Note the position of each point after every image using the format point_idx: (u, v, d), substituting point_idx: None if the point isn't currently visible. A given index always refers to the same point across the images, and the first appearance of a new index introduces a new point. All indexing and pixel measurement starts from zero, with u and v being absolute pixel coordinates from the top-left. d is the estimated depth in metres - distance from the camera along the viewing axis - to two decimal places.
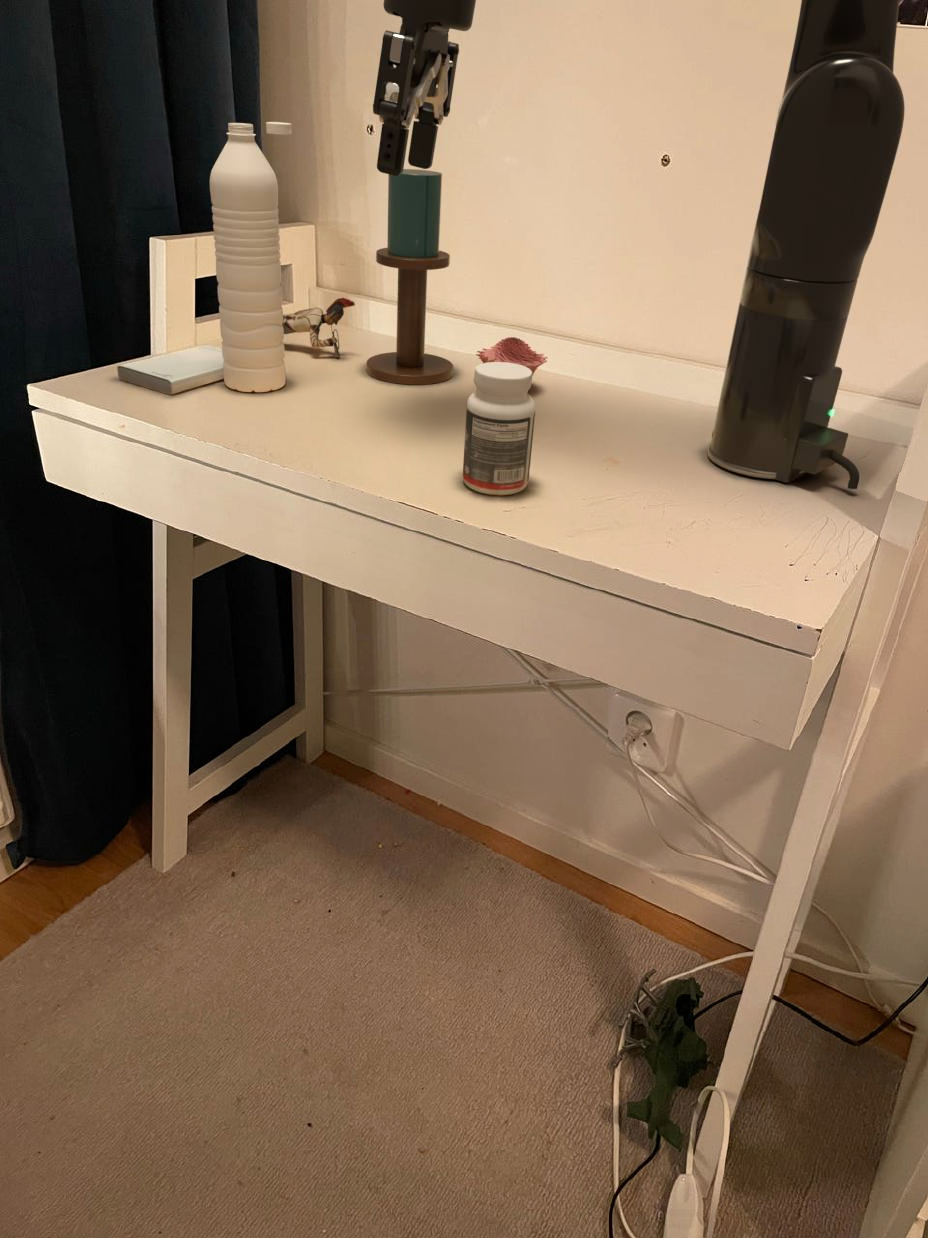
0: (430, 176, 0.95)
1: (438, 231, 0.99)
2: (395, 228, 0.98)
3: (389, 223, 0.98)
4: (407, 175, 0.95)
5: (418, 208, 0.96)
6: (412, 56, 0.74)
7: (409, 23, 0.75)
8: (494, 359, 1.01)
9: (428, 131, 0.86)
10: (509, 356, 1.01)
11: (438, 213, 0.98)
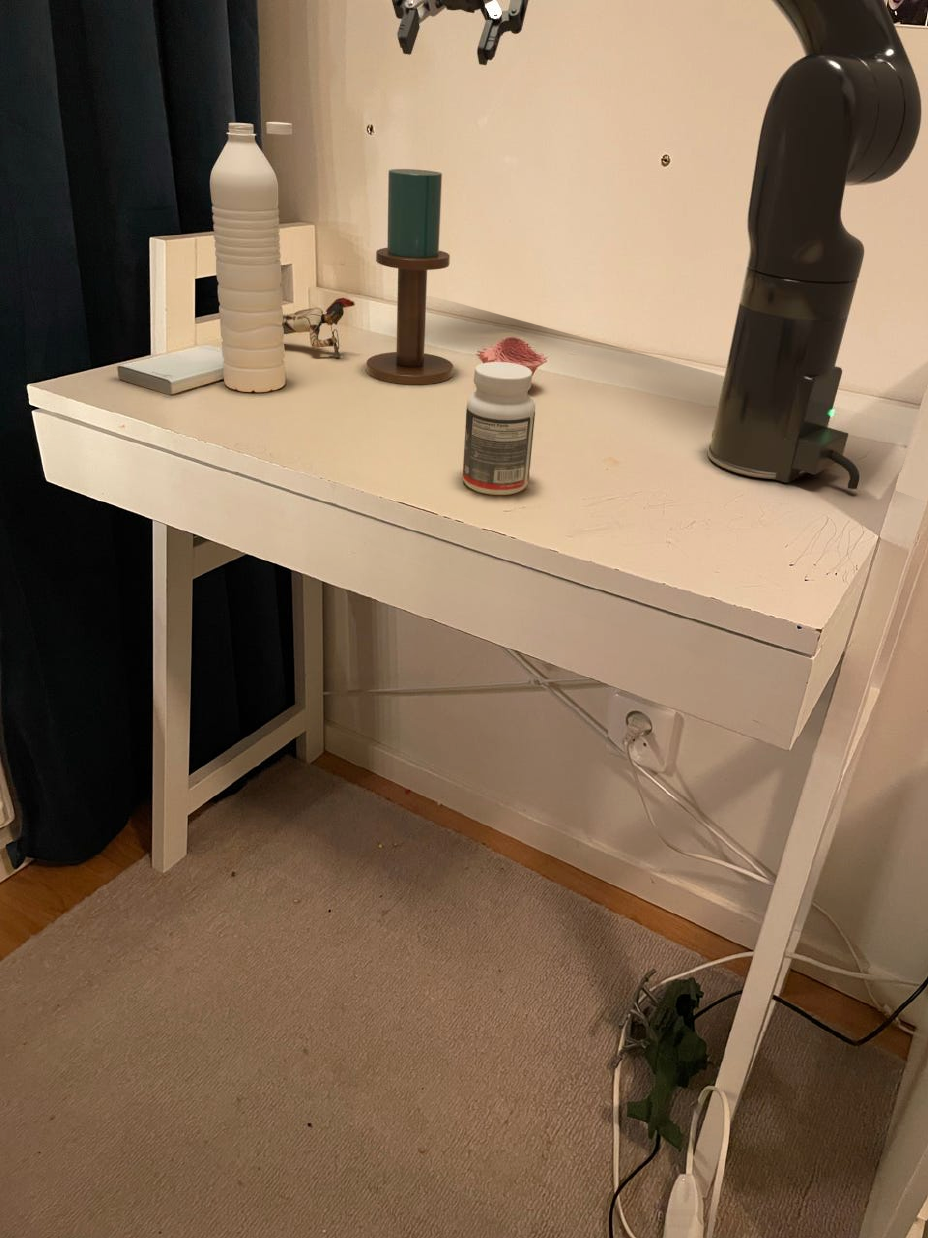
0: (430, 176, 0.95)
1: (438, 231, 0.99)
2: (395, 228, 0.98)
3: (389, 223, 0.98)
4: (407, 175, 0.95)
5: (418, 208, 0.96)
6: None
7: None
8: (494, 359, 1.01)
9: None
10: (509, 356, 1.01)
11: (438, 213, 0.98)
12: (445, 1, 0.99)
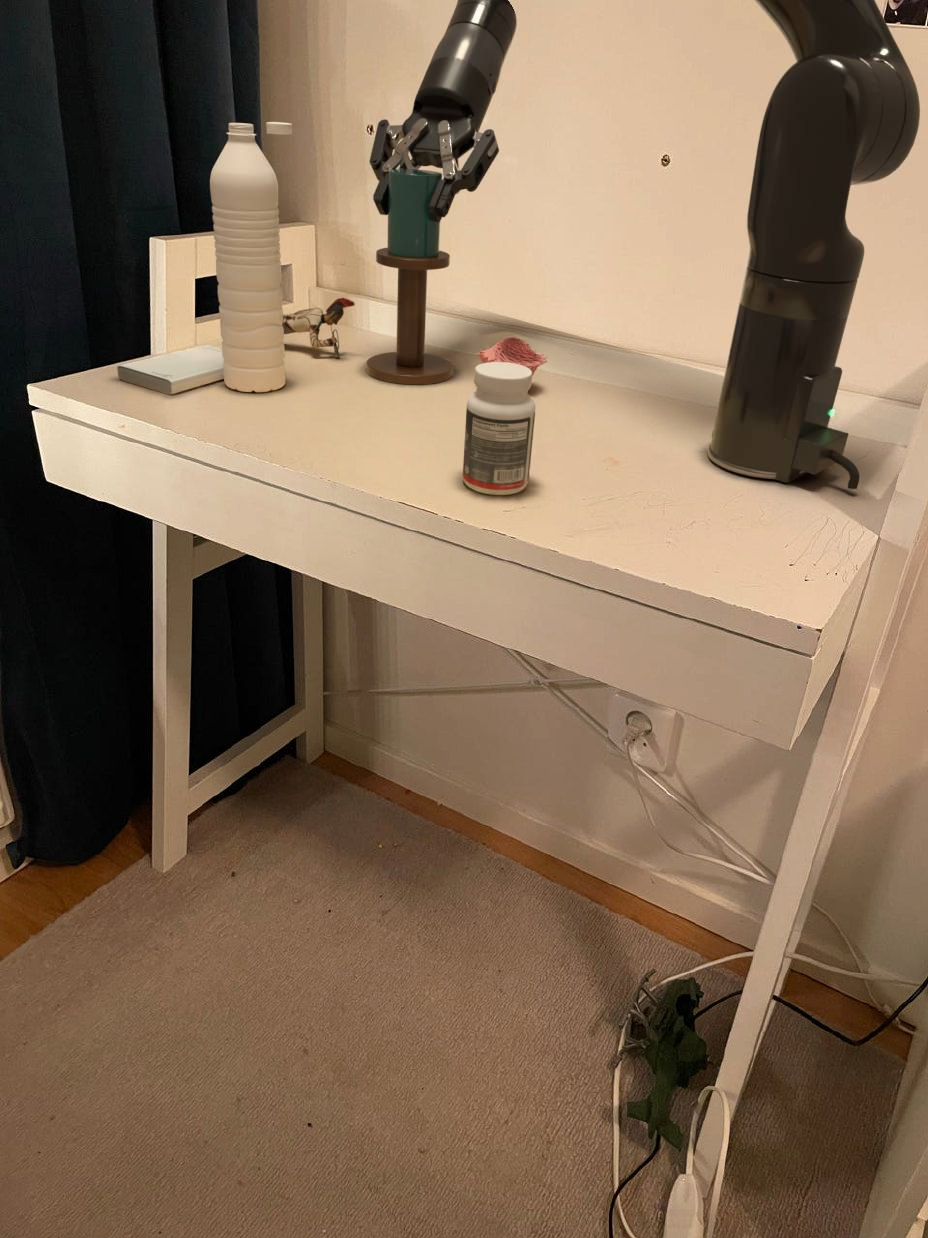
0: (430, 176, 0.95)
1: (438, 231, 0.99)
2: (395, 228, 0.98)
3: (389, 223, 0.98)
4: (407, 175, 0.95)
5: (418, 208, 0.96)
6: (382, 129, 1.00)
7: None
8: (494, 359, 1.01)
9: None
10: (509, 356, 1.01)
11: None
12: (415, 158, 0.99)
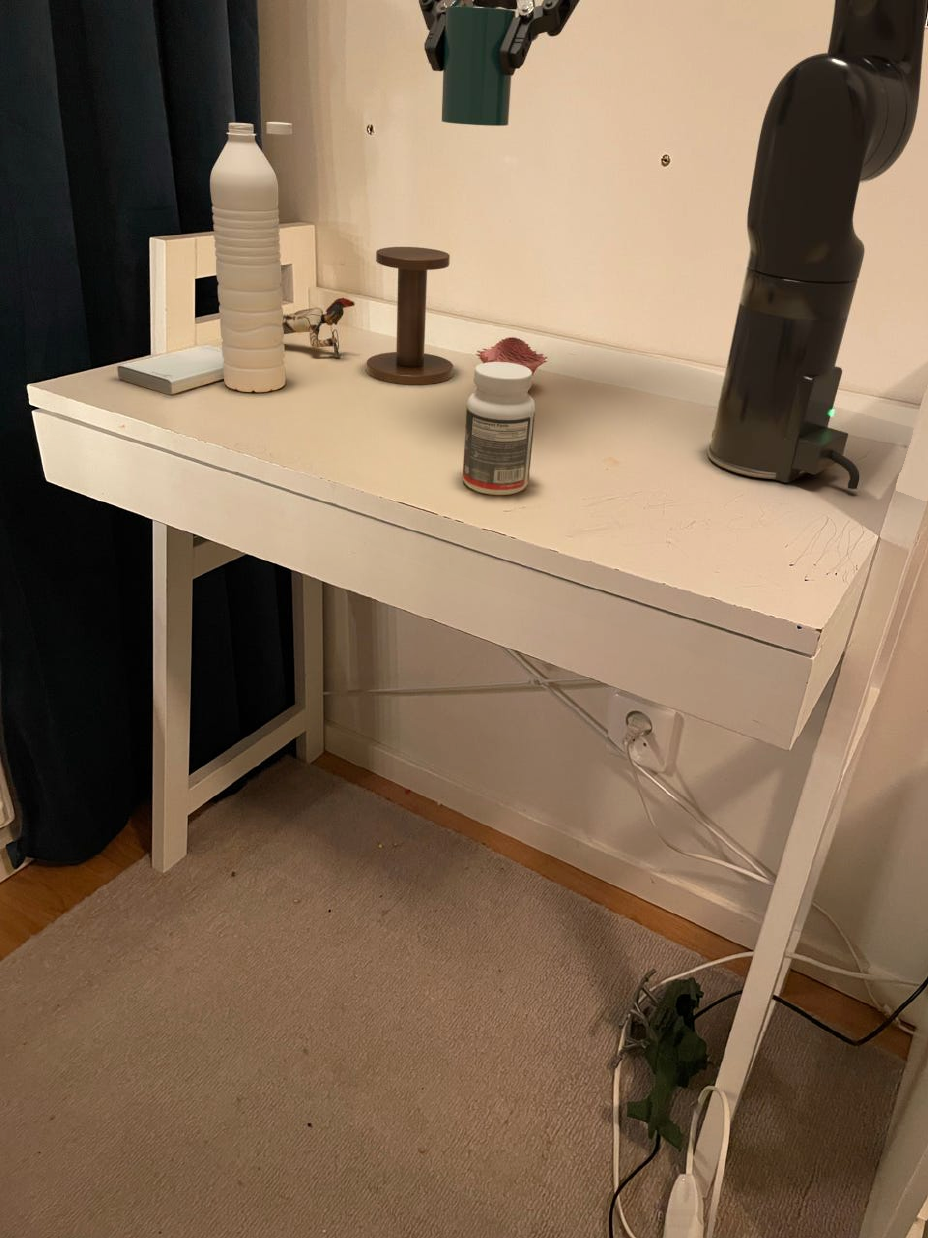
0: (502, 10, 0.72)
1: (509, 91, 0.76)
2: (454, 85, 0.74)
3: (445, 80, 0.75)
4: (472, 8, 0.71)
5: (485, 56, 0.73)
6: None
7: None
8: (494, 359, 1.01)
9: None
10: (509, 356, 1.01)
11: None
12: None
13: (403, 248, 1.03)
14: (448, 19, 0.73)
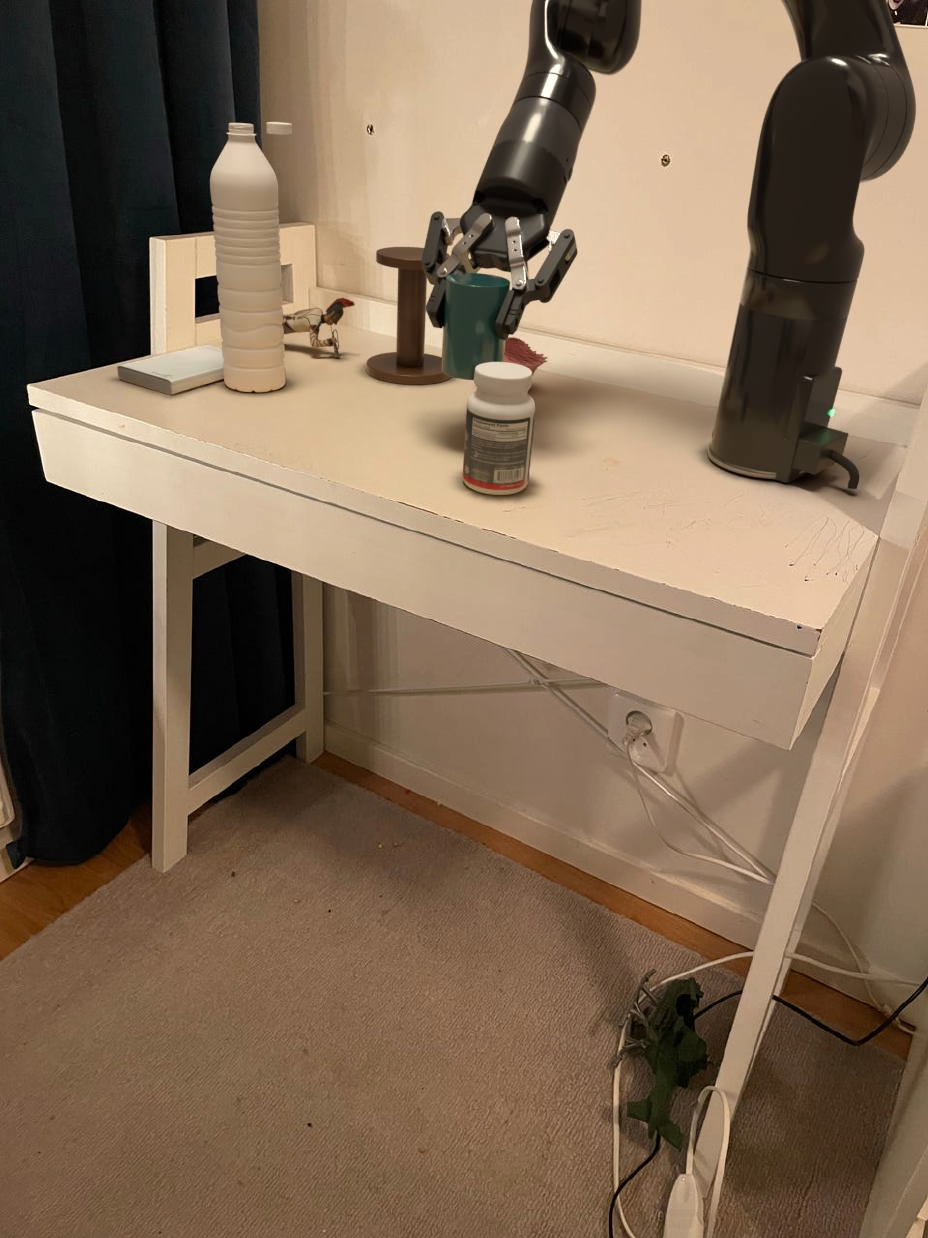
0: (497, 287, 0.79)
1: (503, 348, 0.83)
2: (453, 346, 0.81)
3: (445, 339, 0.82)
4: (470, 287, 0.78)
5: (482, 325, 0.80)
6: (436, 223, 0.83)
7: None
8: None
9: None
10: (509, 356, 1.01)
11: None
12: (476, 260, 0.83)
13: (403, 248, 1.03)
14: (448, 291, 0.80)
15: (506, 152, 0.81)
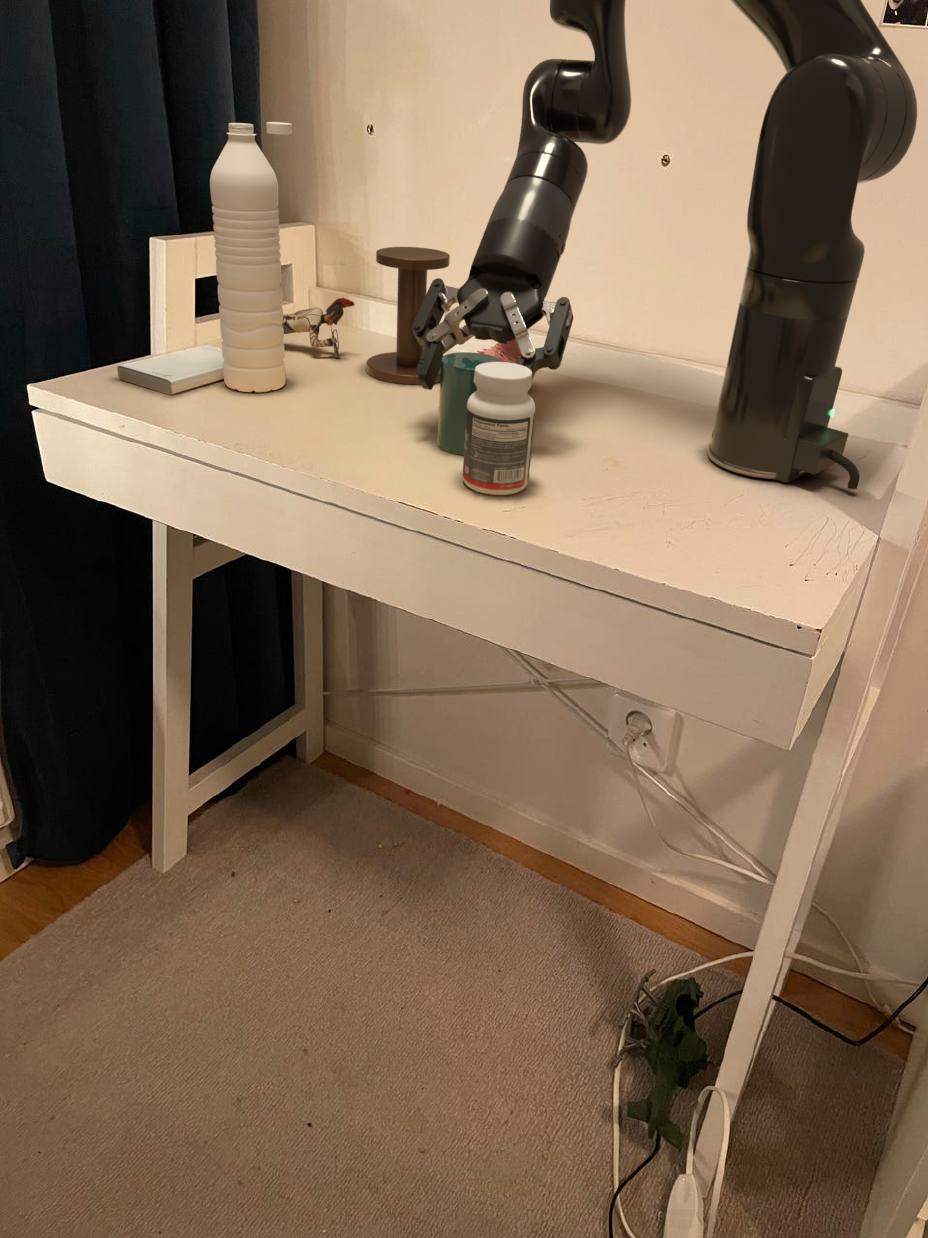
0: None
1: None
2: (448, 423, 0.85)
3: (441, 416, 0.85)
4: (464, 369, 0.82)
5: None
6: (434, 290, 0.87)
7: None
8: None
9: None
10: (509, 356, 1.01)
11: None
12: (473, 332, 0.86)
13: (403, 248, 1.03)
14: (443, 372, 0.83)
15: (501, 230, 0.84)
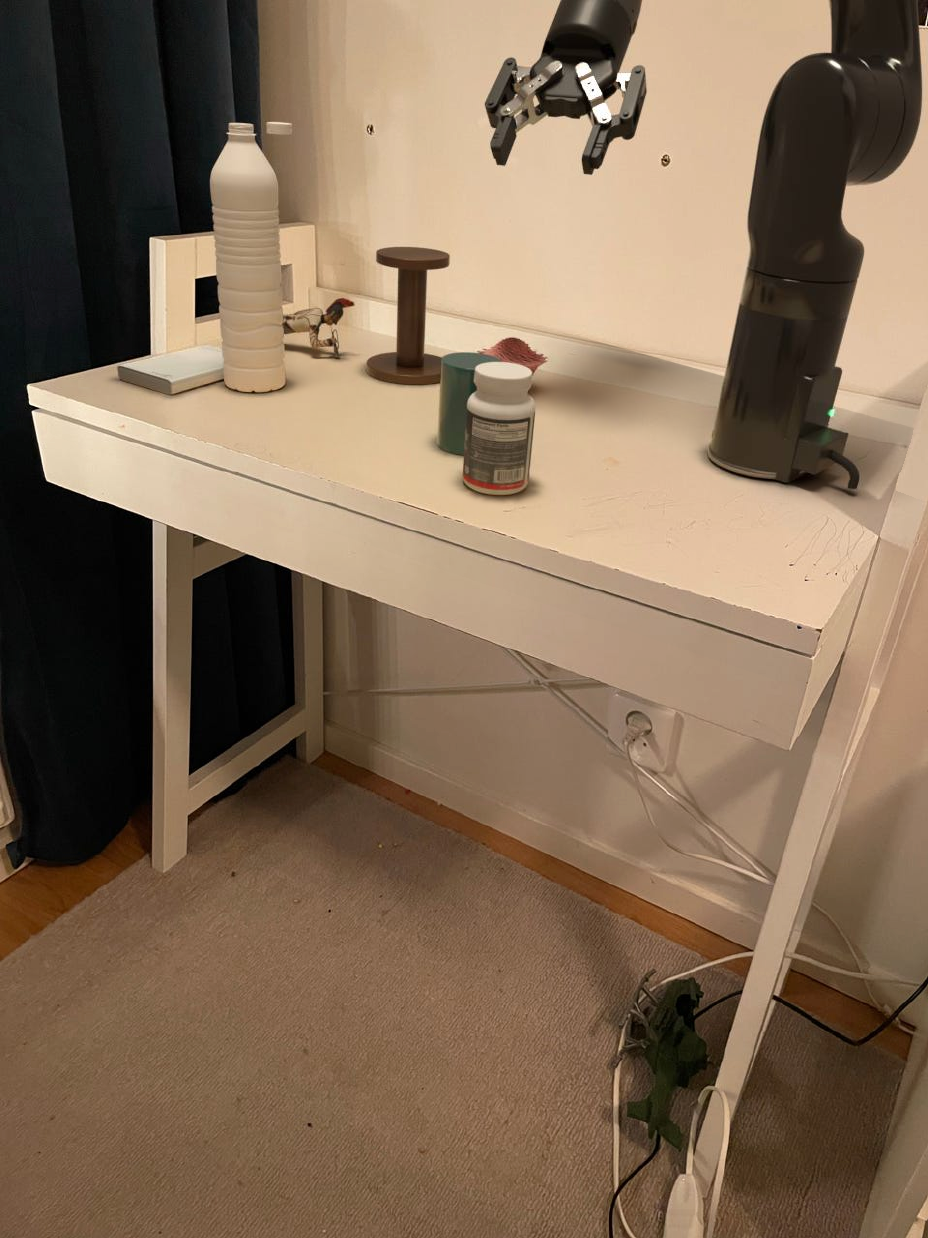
0: None
1: None
2: (448, 423, 0.85)
3: (441, 416, 0.85)
4: (464, 369, 0.82)
5: None
6: (507, 68, 0.87)
7: None
8: None
9: None
10: (509, 356, 1.01)
11: None
12: (546, 107, 0.86)
13: (403, 248, 1.03)
14: (443, 372, 0.83)
15: (576, 1, 0.85)
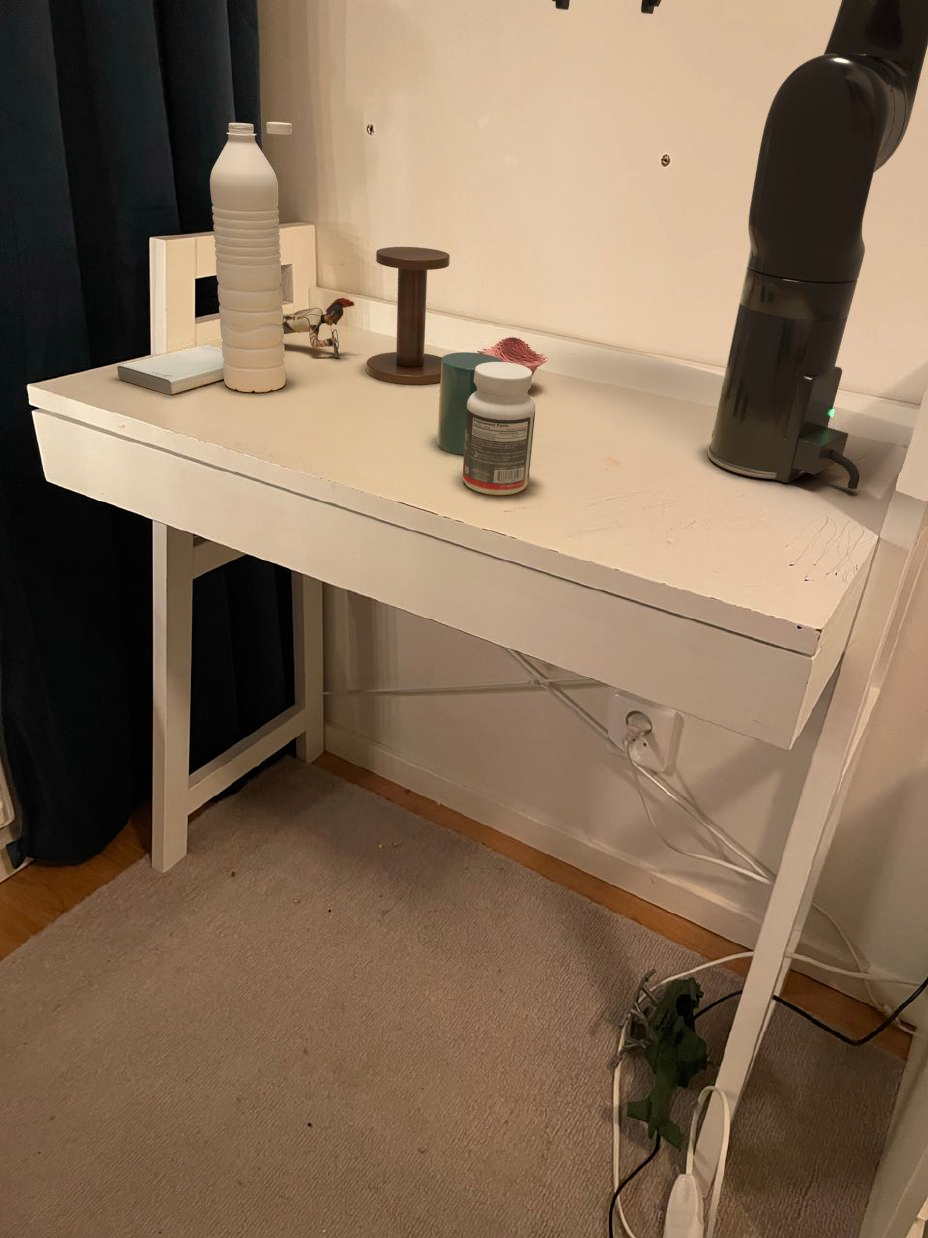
0: None
1: None
2: (448, 423, 0.85)
3: (441, 416, 0.85)
4: (464, 369, 0.82)
5: None
6: None
7: None
8: None
9: None
10: (509, 356, 1.01)
11: None
12: None
13: (403, 248, 1.03)
14: (443, 372, 0.83)
15: None
